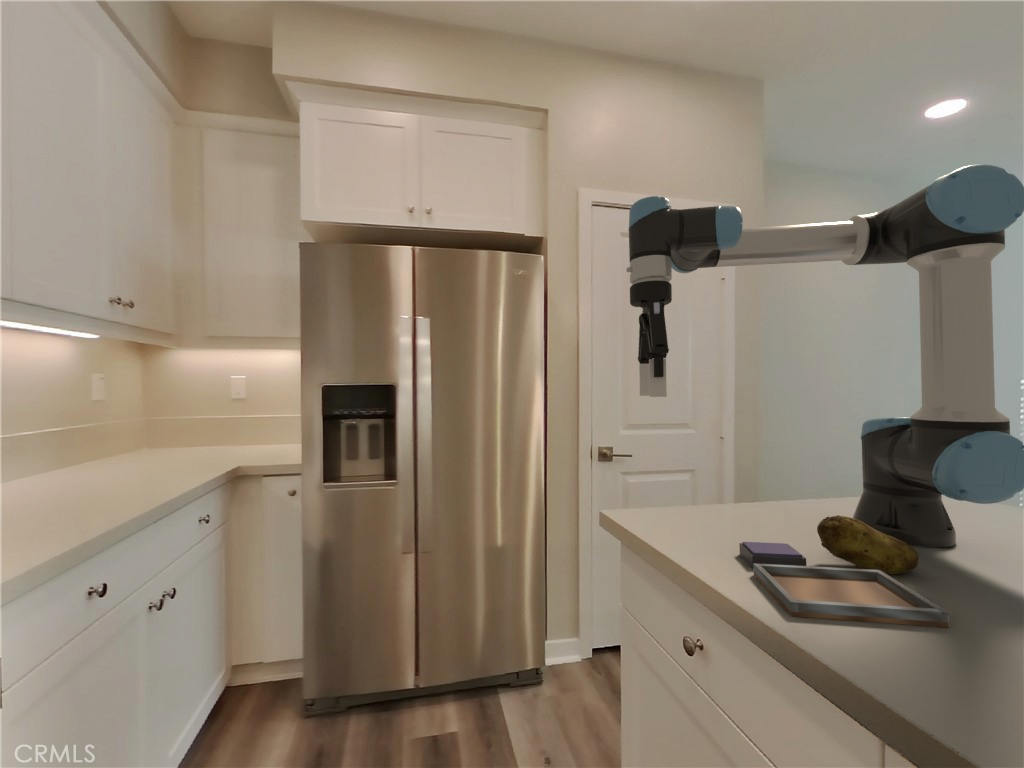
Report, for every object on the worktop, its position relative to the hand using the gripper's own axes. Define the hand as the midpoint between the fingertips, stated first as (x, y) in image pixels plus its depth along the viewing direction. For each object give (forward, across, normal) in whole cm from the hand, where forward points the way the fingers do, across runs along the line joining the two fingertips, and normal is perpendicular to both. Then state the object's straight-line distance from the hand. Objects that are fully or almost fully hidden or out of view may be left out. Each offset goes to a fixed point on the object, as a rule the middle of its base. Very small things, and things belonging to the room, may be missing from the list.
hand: (652, 396), depth 81 cm
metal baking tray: (+28, +17, +22) cm, 40 cm away
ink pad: (+28, +5, +18) cm, 34 cm away
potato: (+28, +6, +32) cm, 43 cm away
